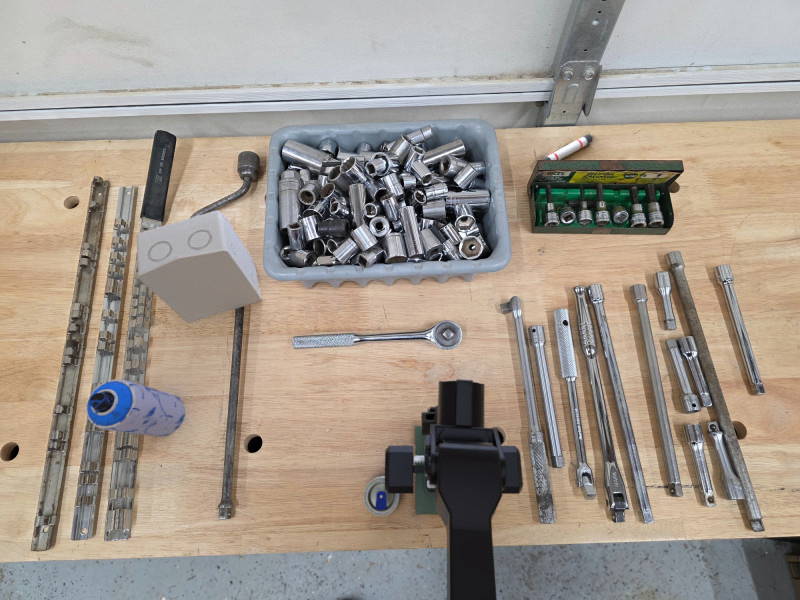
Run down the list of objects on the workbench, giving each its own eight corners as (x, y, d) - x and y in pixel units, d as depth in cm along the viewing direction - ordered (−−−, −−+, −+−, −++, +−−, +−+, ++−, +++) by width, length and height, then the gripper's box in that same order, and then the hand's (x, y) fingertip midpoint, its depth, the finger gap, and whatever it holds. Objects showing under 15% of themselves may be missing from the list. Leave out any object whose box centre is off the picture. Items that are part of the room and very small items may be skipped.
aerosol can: (193, 394, 84) (130, 373, 65) (185, 438, 81) (118, 429, 62) (151, 393, 84) (76, 372, 65) (142, 438, 81) (62, 429, 62)
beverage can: (401, 507, 76) (399, 516, 62) (371, 507, 76) (362, 516, 62) (401, 475, 78) (399, 477, 64) (372, 475, 78) (363, 476, 64)
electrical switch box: (253, 246, 97) (213, 180, 79) (265, 304, 90) (223, 245, 72) (185, 266, 95) (129, 203, 78) (191, 326, 88) (131, 272, 71)
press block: (475, 513, 76) (478, 515, 72) (415, 513, 76) (416, 515, 72) (470, 426, 81) (473, 424, 77) (414, 426, 81) (415, 424, 77)
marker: (584, 138, 102) (588, 132, 100) (590, 144, 101) (593, 138, 99) (530, 168, 99) (532, 162, 97) (535, 175, 99) (538, 169, 97)
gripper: (526, 403, 59) (503, 416, 73) (383, 403, 59) (388, 416, 74) (535, 496, 55) (509, 490, 69) (381, 496, 55) (387, 490, 70)
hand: (447, 469), depth 71 cm, fingers closed
